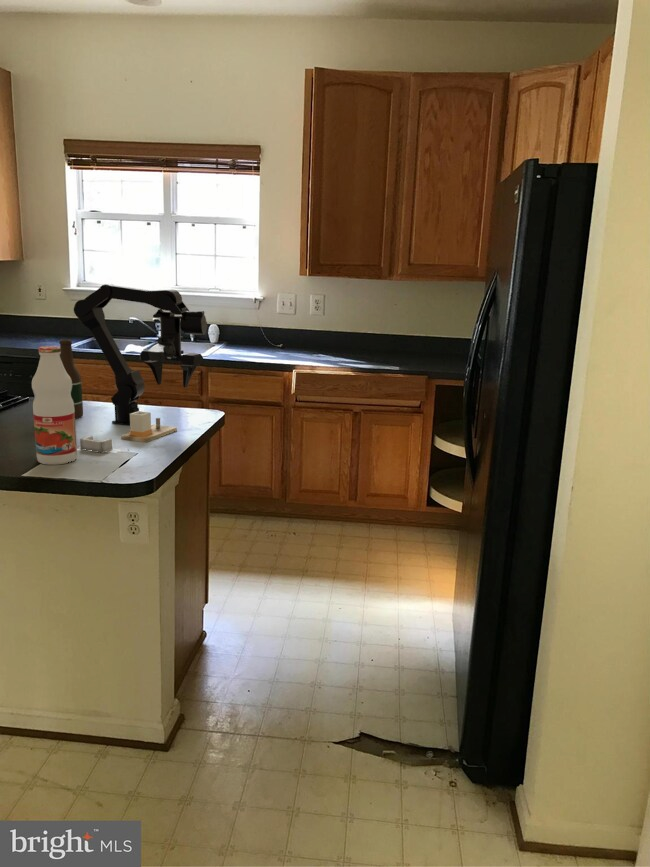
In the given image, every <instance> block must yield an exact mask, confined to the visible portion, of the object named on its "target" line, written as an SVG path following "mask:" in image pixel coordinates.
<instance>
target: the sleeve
mask: <svg viewBox="0 0 650 867" xmlns="http://www.w3.org/2000/svg"><path fill="white" fill-rule="evenodd" d="M151 415H152V414H151V412H149V411H143V410H141V411H140V410H139V411H137V412H134V413H131V414H130V425H129V427H130V430H129V433H130V435H134V436H141V437H143V436H146V435H149V434H152V429H151V425H152V417H151Z"/></svg>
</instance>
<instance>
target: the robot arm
mask: <svg viewBox="0 0 650 867" xmlns="http://www.w3.org/2000/svg"><path fill="white" fill-rule="evenodd" d="M112 299H113V300H114V299H115V300H120V301H127V302H133V303H134V302H135V303H141V304H147V305H150V306H152V307H154V308H157V311H156V312H155V313H154V314H152V317H153V318H159V320H160V321H159V322H160V325H159V326H160V336H158V339H157V343H156V344H154V345H153V346H152V347H150V348H149V349H145V350H141V352H140V353H139V360H140V361H142V362H143V363H144V364H146V365H147V366H148V367H149V368H150V369H151V372H152V374H153V376H154V379H155V381H156V384H157V385H159V386H160V385H161V384H162V379H163V378H162V377H163V376H162V375H163V363H164V362H165V361H175V362H181V363H182V365H180V368H181V369H182V385H183V386H182V387H183V388H184V389H185V388H187V387H188V385H189V383H190V380H191V377H192V376H193V373H194V372H195V370H196V369H197V367H199V366H200V365H201V364H204V356H203V355H202V354H201V353H195V352H188V353H184V350H183V349H182V341H183V340H184V336H182V334H181V332H183V333H184V334H185V335H197V336H198V335H199V336H201V335H204V336H205V335H206V333H207V330H208V321H207V318H206V315H205V311H204V310H198V311H194V310H193V311H190V310H189V308H188V307H187V305H186V304H185V303H184V301H183V298H182V295H181V293H180V292H179V291H178V290H176V289H159V290H157V289H156V290H155V289H153V290H150V289H149V290H148V289H143V288H142V289H141V288H136V287H129V286H121V285H114V284H112V283H108V284H106V283H105V284H102V285H101V286H100V287H98V289H96V290H95V291H94V292H91V293H90V294H89V295H88V296H86V297H85V298H84V299H79V300H78V301H76V302H75V303H74V306H73V314H74V315H75V316H76V318H77V319H78V320H79V322H80V323H81V324H82V325H84V327H86V328H87V329H88V331H90V332H91V334H92V335H93V338H94V340H95V341H96V343H97V345H98V346H99V348H100V351H101V352H102V353H103V355H104V357H105V360H106V361H107V363H108V364H109V366H110V368H111V369H112V372H113V374H114V380H115V385H116V388H117V392H115V393H114V395H112V396H111V397H110V400H111V403H112V405H114V420H112V421H111V423H112V424H115V425H116V424H118V425H124V426H125V425H126V426H130V414H131V413H134V412H137V411H140V407H139V404H138V402H137V401H139V399H140V396H141V395H142V394H143V393H144V391H145V389H146V385H145V383H144V382H146V380H145V379H144V378H143V377H142V376H141V372H140V370H139V369H136V370H133V369H131V367H130V366H129V365H128V363H127V361H126V359H125V357H124V356H123V354H122V352H121V350H120V349H119V347H118V345H117V343H116V341H115V339H114V337H113V336H112V334H111V331H110V330H109V328H108V326H107V324H106V316H105V312H104V310H103V309H104V308H106V306H107V305H108V304H109V303H110V302H111V301H112Z"/></svg>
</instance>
